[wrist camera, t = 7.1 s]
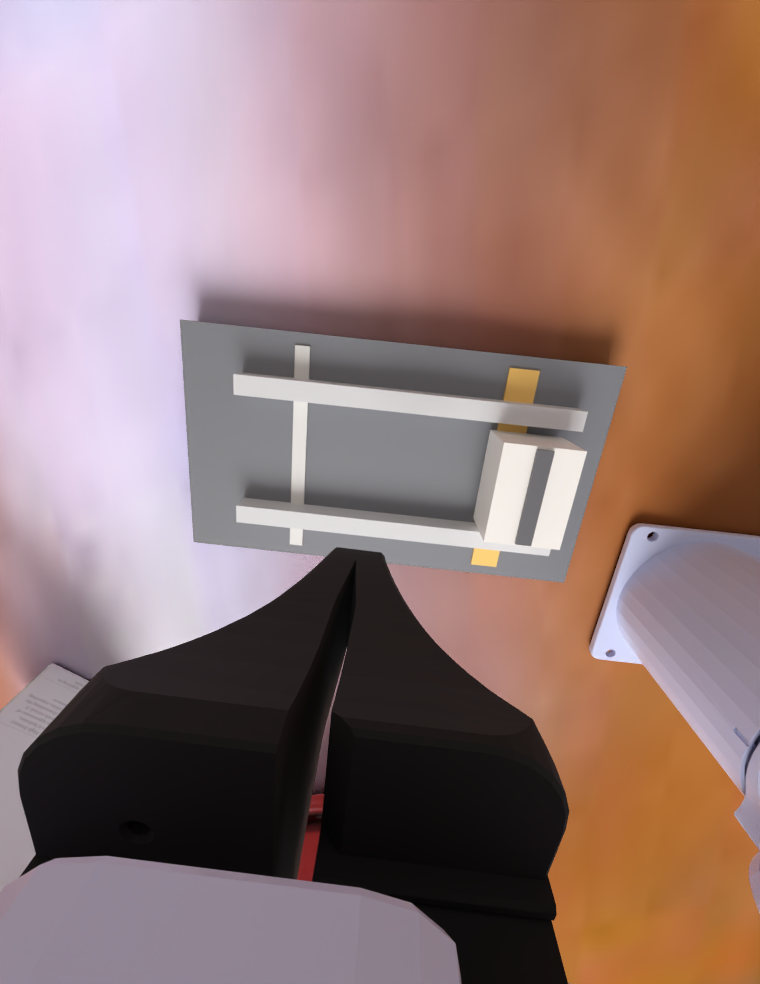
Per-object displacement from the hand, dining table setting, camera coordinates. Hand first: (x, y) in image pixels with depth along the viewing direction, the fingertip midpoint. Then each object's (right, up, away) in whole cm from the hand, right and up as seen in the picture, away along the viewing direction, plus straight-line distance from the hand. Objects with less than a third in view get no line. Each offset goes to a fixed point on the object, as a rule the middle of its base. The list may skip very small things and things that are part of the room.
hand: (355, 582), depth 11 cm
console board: (+1, +4, +8) cm, 10 cm away
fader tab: (+7, +3, +7) cm, 10 cm away
